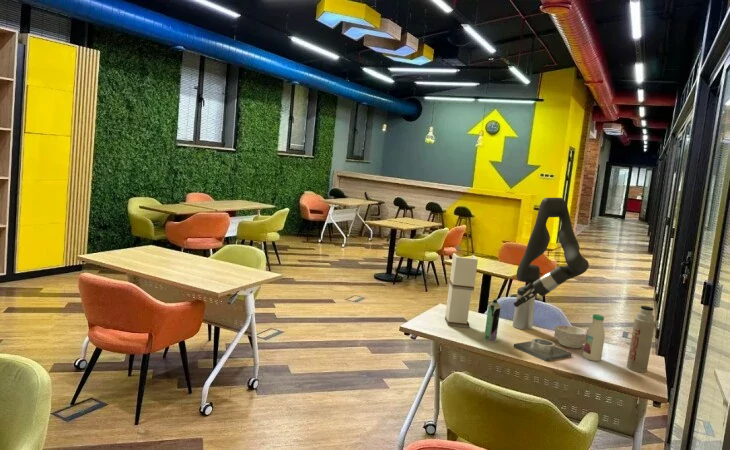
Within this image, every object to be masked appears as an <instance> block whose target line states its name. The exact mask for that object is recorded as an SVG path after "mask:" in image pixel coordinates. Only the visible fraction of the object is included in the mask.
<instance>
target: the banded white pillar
mask: <svg viewBox="0 0 730 450" xmlns="http://www.w3.org/2000/svg"><path fill="white" fill-rule="evenodd" d="M478 260H479V259H478V258H477V257H476V256H475V255H474V254H473V255H471V257H470V258H469V257H464V256H463V257H462V256H459V255H457V254H456V253H455V252H454V253H452V261H451V267H450V276H449V285H448V292H447V298H446V299H447V300H446V308H445V315H444V321H445V323H446V325H447V326H448V327H449V326H450V327H456V328H457V327H458V328H466V329H467V328H468V329H470V323H469V321H468V320H469V311H470V306H471V305H470V303H471V296H472V294H474V292H475V286H476V285H475V284H476V277H477V269H478Z"/></svg>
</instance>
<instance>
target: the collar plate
mask: <svg viewBox="0 0 730 450" xmlns="http://www.w3.org/2000/svg"><path fill="white" fill-rule="evenodd" d="M513 348H514V349H517V350H520V351H522V352H524V353H526V354H529V355H531V356H533V357H535V358H538V359H540V360H542V361H544V362H548V361H549V362H550V361H553V360H560V359H564V358H569V357H572V356H573V355H572V354H573V353H572V352H570V351H567V350H565V349H562V348H561V347H560V348H559V347H557V346H556V343H555V342H554V341H551V340H548V339H545V338H540V337H539V338H537V337H535V338H532V339H531V341H524V342H517V343H514V344H513Z"/></svg>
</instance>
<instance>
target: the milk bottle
mask: <svg viewBox="0 0 730 450" xmlns="http://www.w3.org/2000/svg"><path fill="white" fill-rule="evenodd" d="M604 319H605V316H604V315H600V314H598V313H597V314H592V321H591V324H590V325H589V327H588V328H587V330H586V331H587V334H586V339H585V344H583V345H584V346H583V352H582V357H583V358H584V359H586V360H588V361H594V362H600V361H602V356H603V350H604V344H605V337H606V334H605V328H604V325H603V323H604Z"/></svg>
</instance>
